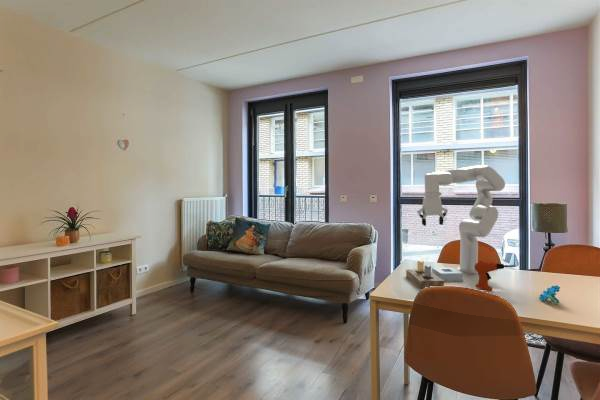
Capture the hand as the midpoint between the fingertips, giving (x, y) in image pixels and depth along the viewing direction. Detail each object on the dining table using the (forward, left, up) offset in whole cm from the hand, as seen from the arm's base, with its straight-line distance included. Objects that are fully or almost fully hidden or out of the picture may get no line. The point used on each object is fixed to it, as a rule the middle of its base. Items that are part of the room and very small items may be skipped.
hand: (432, 225), depth 196 cm
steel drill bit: (+10, +18, -29) cm, 35 cm away
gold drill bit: (+9, +8, -29) cm, 32 cm away
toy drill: (-21, +25, -30) cm, 45 cm away
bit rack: (+10, +13, -30) cm, 34 cm away
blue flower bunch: (-38, +41, -30) cm, 63 cm away
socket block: (-6, +5, -30) cm, 31 cm away
